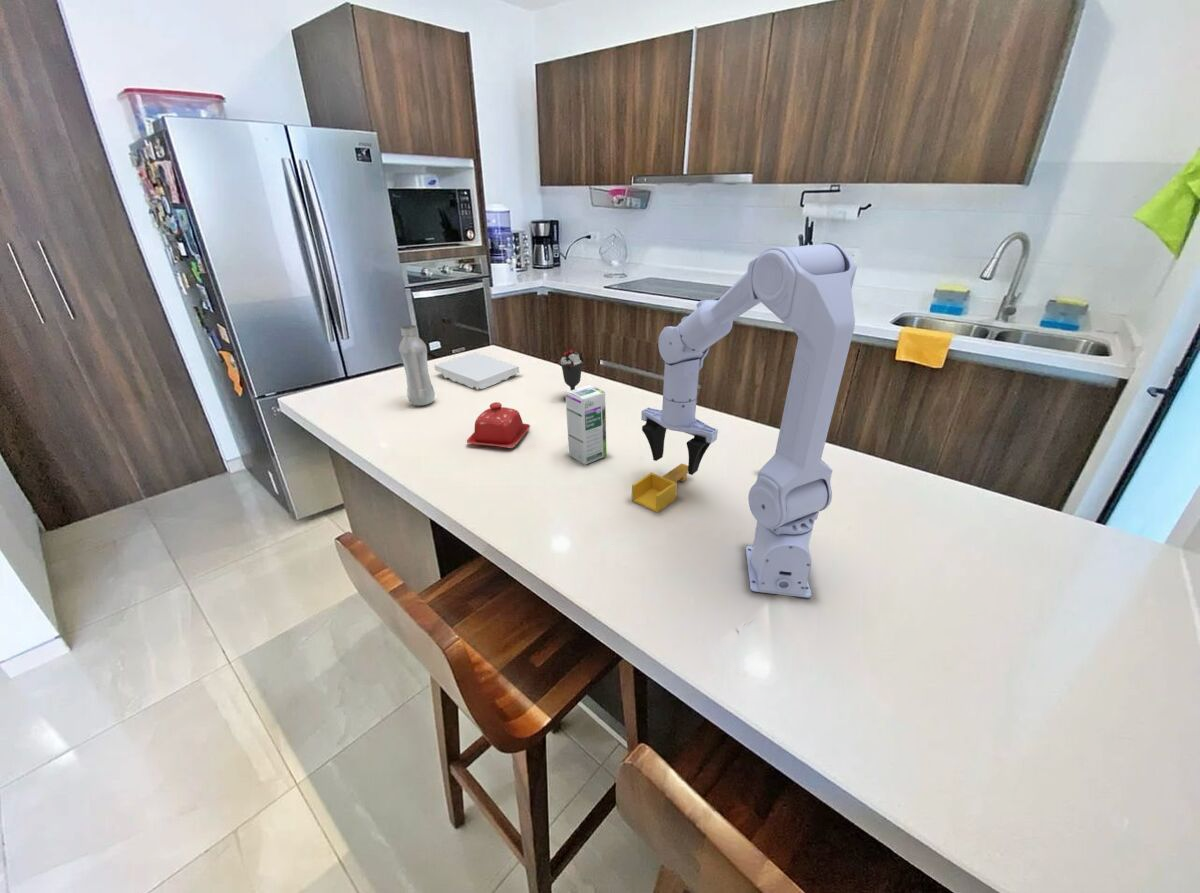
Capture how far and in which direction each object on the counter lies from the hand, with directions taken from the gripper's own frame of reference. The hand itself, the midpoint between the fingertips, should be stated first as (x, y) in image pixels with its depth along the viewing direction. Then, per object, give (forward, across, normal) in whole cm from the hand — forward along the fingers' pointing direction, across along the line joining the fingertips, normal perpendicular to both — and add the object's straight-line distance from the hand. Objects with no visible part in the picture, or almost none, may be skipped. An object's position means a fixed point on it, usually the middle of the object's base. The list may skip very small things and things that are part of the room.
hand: (674, 465), depth 91 cm
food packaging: (+5, +78, -13) cm, 79 cm away
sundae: (+5, +44, -18) cm, 48 cm away
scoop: (+4, 0, +3) cm, 5 cm away
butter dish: (+5, +41, +9) cm, 42 cm away
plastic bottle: (+5, +72, +9) cm, 73 cm away
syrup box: (+5, +20, +2) cm, 21 cm away
